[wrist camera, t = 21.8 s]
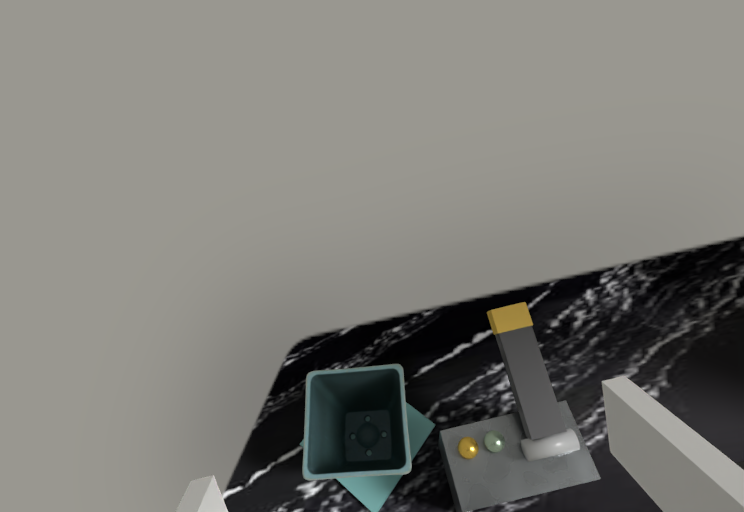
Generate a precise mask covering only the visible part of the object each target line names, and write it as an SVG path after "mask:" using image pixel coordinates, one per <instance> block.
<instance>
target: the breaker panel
mask: <svg viewBox="0 0 744 512" xmlns="http://www.w3.org/2000/svg"><path fill="white" fill-rule="evenodd" d="M558 406H559V409H560V412H561V415H562V418H563V421H564V424H565V427H566V429H569V428H571V429H572V430H573V431H574V432H575V434H576V436H577V438H578V441H579V444H580V449H579V450H576V451H572V452H568V453H564V454H560V455H556V456H551V457H547V458H543V459H539V460H535V461H531V462H528V461H527V459H526V458H525V456H524V453H523V451H522V447H521V440H524V439H528V438H527V437H526V434H525V431H524V428H523V424H522V421H521V418H520V414H519V412H516V413H512V414H508V415H504V416H500V417H496V418H491V419H487V420H483V421H479V422H475V423H471V424H467V425H462V426H458V427H454V428H450V429H446V430H442V431H440V434H439V440H438V446H439V450H440V453H441V457H442V461H443V465H444V468H445V472H446V476H447V480H448V483H449V487H450V491H451V494H452V498H453V502H454V506H455V509H456V512H467V511H471V510H475V509H480V508H484V507H488V506H492V505H496V504H500V503H504V502H508V501H512V500H516V499H520V498H525V497H529V496H533V495H537V494H541V493H545V492H549V491H553V490H557V489H561V488H565V487H569V486H574V485H578V484H582V483H586V482H590V481H594V480H598V479H601V478H600V476H599V474H598V471H597V469H596V467H595V465H594V462H593V460H592V458H591V456H590V453H589V451H588V449H587V447H586V445H585V442H584V440H583V438H582V436H581V433H580V431H579V429H578V427H577V424H576V422H575V420H574V418H573V415H572V413H571V411H570V409H569V407H568V404H567V402H566V401H562V402H558Z"/></svg>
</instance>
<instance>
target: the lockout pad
mask: <svg viewBox="0 0 744 512" xmlns="http://www.w3.org/2000/svg"><path fill="white" fill-rule="evenodd" d="M406 413H407V425H408V435H409V445H410V455H411V462H412V460H413V459H414V457H415V456H416V454H417V453H418V451H419V450H420V448H421V447H422V445H423V444H424V442H425V441H426V439H427V438H428V436H429V435H430V433H431V432H432V430H433V429H434V427H435V424H434V423H433V422H431V421H430V420H429V419H427V418H426V417H425V416H424V415H422V414H421V413H420V412H418V411H417V410H416V409H414V408H413V407H412V406H411V405H409V404H408V403H407V402H406ZM365 420H366V421H370V417H369V416H367V417H366V419H365ZM386 435H387V434H386V432H382V437H386ZM351 439H355V435H354V434H352V435H351ZM300 445H301V446H302V447H304V439H303V440H302V442H301V443H300ZM366 454H367V455H368V456H370V455H371V454H372V452H371V450H368V451H367V452H366ZM401 477H402V475H383V476H364V477H348V478H336V479H337V480H338V481H339V482H340V483H341V484H342V485H343V486H344V487H346V488H347V489H348V490H349V491H350V492H351V493H352V494H353V495H354V496H355V497H356V498H357V499H358V500H359V501H360V502H362V503H363V504H364V505H365V506H366V507H367V508H368V509H369V510H370V511H371V512H379V510H380V508H381V507H382V505H383V504H384V502H385V501H386V499H387V498H388V496H389V495H390V493H391V492H392V490H393V489H394V487H395V486H396V484H397V483H398V481H399V480H400V478H401Z"/></svg>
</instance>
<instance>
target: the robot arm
mask: <svg viewBox="0 0 744 512" xmlns="http://www.w3.org/2000/svg"><path fill="white" fill-rule="evenodd" d="M602 389H603V397H604V405H605V413H606V421H607V429H608V438H609V446H610V452H611V453H612V454H613V455H614V457H615V458H616V459H617V460H618V461H619V462H620V463H621V464H622V466H623V467H624V468H625V469H626V470H627V471H628V472H629V473H630V475H631V476H632V477H633V478H634V479H635V480H636V481H637V482H638V484H639V485H640V486H641V487H642V488H643V489H644V490H645V492H646V493H647V494H648V495H649V496H650V497H651V498H652V499H653V501H654V502H655V503H656V504H657V505H658V506H659V507H660V508H661V510H662V511H663V512H744V461H743V462H739V463H734V462H733V461H732V460H730V459H729V458H728V457H727V456H725V455H724V454H723V453H722V452H720V451H719V450H718V449H717V448H715V447H714V446H713V445H711V444H710V443H709V442H708V441H706V440H705V439H704V438H703V437H701V436H700V435H699V434H698V433H696V432H695V431H694V430H692V429H691V428H690V427H689V426H687V425H686V424H685V423H684V422H682V421H681V420H680V419H679V418H677V417H676V416H675V415H673V414H672V413H671V412H670V411H668V410H667V409H666V408H665V407H663V406H662V405H661V404H660V403H658V402H657V401H656V400H655V399H653V398H652V397H651V396H649V395H648V394H647V393H646V392H644V391H643V390H642V389H641V388H639V387H638V386H637V385H636V384H634V383H633V382H632V381H630V380H629V379H628V378H627V377H625V376H621V377H617V378H613V379H609V380H605V381H602ZM176 512H228V510H227V508H226V505H225V503H224V500H223V498H222V495H221V492H220V490H219V488H218V485H217V482H216V480H215V477H214V475H211V476H208V477H203V478H199V479H195V480H191V482H190V484H189V486H188V488H187V490H186V492H185V494H184V496H183V498H182V500H181V502H180V504H179V506H178V508H177V510H176Z"/></svg>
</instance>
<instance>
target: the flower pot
mask: <svg viewBox="0 0 744 512" xmlns="http://www.w3.org/2000/svg"><path fill="white" fill-rule="evenodd" d="M305 398H306V399H305V425H304V447H303V466H302V473H303V477H304V479H306V480H322V479H335V478H348V477H364V476H383V475H404V474H408V473H410V471H411V468H412V464H411V455H410V445H409V435H408V425H407V413H406V401H405V388H404V372H403V368H402V366H401V365H400V364H389V365H380V366H370V367H359V368H348V369H335V370H318V371H312V372H309V373H308V374H307V376H306V397H305ZM367 416H369V417H370V421H366V420H365V419H366V417H367ZM382 432H386V434H387V435H386V437H382ZM352 434H354V435H355V439H351V435H352ZM368 450H371V452H372V454H371V455H370V456H368V455H367V454H366V452H367V451H368Z"/></svg>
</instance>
